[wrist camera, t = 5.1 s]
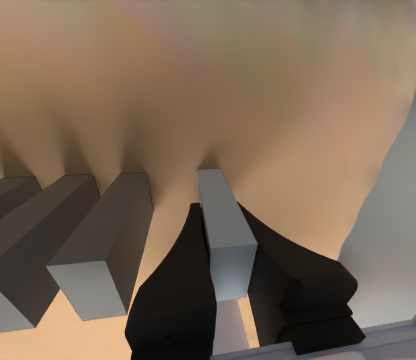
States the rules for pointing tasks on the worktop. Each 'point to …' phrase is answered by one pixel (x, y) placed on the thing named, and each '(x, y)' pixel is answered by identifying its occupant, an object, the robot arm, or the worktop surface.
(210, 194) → the domino
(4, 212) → the domino
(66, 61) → the worktop surface
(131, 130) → the worktop surface
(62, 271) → the domino
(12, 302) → the domino
